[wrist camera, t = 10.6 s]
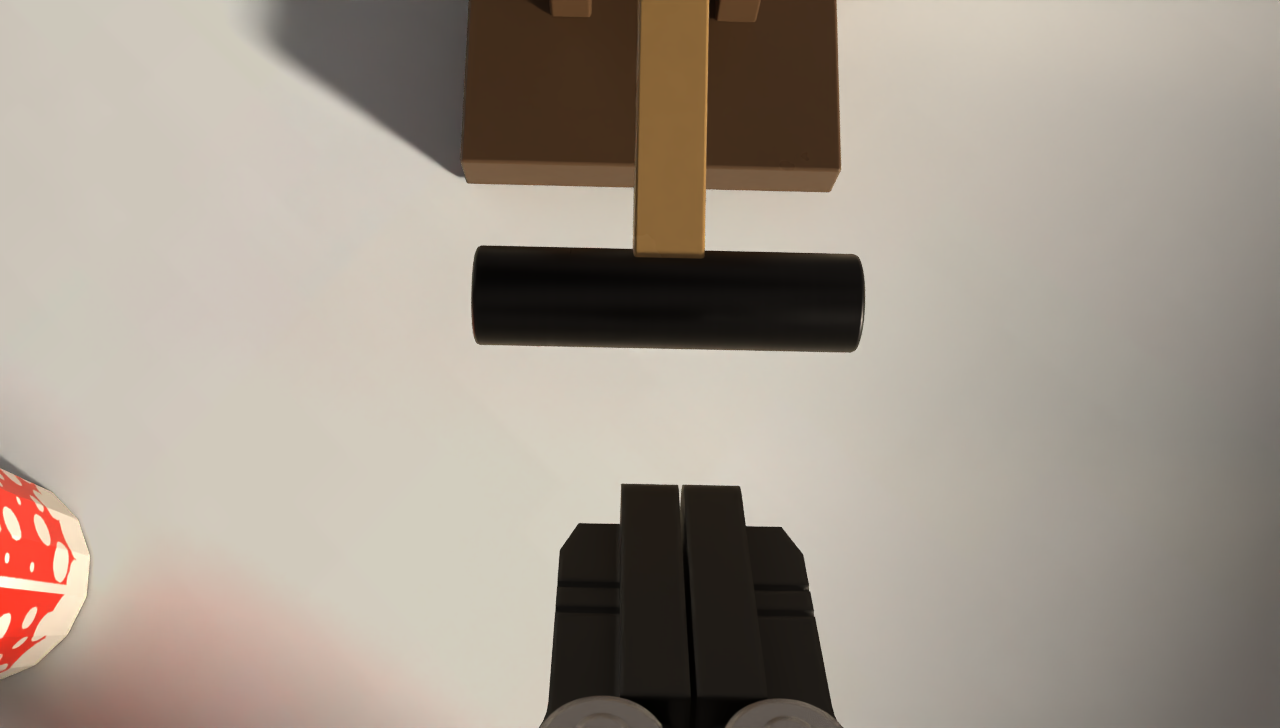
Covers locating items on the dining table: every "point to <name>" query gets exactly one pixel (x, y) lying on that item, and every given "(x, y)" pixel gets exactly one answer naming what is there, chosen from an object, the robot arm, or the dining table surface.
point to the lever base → (606, 94)
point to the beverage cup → (37, 572)
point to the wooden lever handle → (668, 243)
